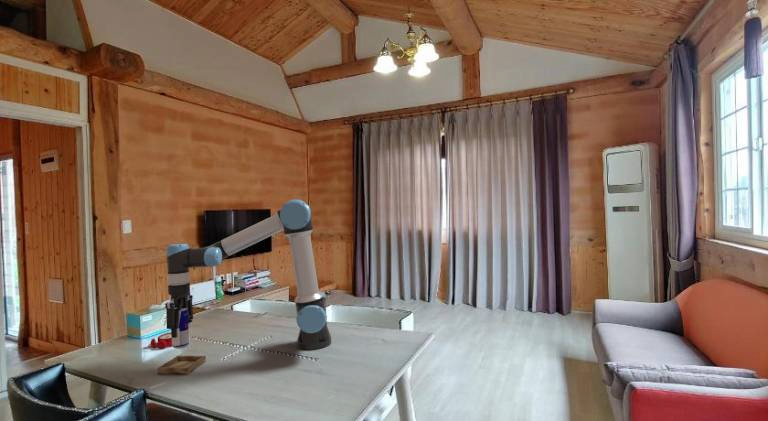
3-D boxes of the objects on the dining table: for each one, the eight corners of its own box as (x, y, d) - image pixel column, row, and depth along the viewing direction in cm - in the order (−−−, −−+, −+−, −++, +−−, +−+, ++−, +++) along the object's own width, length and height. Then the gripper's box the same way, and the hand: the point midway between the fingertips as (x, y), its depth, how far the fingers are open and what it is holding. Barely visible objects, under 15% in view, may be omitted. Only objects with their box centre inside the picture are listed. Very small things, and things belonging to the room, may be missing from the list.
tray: (205, 361, 155) (205, 355, 155) (187, 374, 143) (187, 368, 143) (178, 361, 156) (178, 355, 156) (157, 374, 144) (157, 368, 144)
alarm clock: (188, 333, 181) (159, 336, 168) (186, 346, 180) (156, 351, 167) (173, 330, 186) (144, 333, 172) (171, 344, 184) (141, 348, 171)
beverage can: (182, 349, 146) (180, 310, 146) (169, 349, 147) (168, 310, 147) (192, 344, 152) (190, 306, 151) (180, 343, 153) (178, 306, 152)
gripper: (184, 278, 159) (186, 334, 159) (153, 288, 140) (155, 351, 140) (201, 278, 158) (203, 334, 158) (172, 288, 139) (174, 351, 140)
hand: (181, 342), depth 149 cm, fingers closed on beverage can, 5 cm apart
